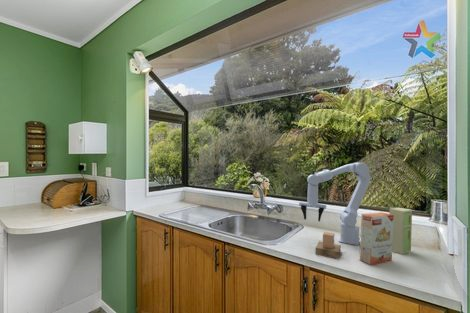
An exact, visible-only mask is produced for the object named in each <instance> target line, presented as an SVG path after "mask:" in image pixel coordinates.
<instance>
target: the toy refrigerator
mask: <svg viewBox="0 0 470 313" xmlns="http://www.w3.org/2000/svg"><path fill="white" fill-rule="evenodd" d="M388 212H389V213H388V214H392V215H394V218H393V242H392V252H394V253H397V254H400V255H406V254H409V253H411V252H412V231H413V230H412V228H413V227H412V222H413V221H412V220H413V209H411V208H410V209H409V208H404V207H391V208H389V211H388Z"/></svg>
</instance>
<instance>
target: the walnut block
mask: <svg viewBox="0 0 470 313" xmlns="http://www.w3.org/2000/svg"><path fill="white" fill-rule="evenodd" d="M341 248H342V247H341V244H336V243H334V247H333V249H332V248H326V247H323V241H320V240H319V241H318V243H317V244H316V246H315V255H319V256H324V257H328V258H333V259H339V258H340V255H341Z"/></svg>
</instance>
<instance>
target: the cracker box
mask: <svg viewBox="0 0 470 313" xmlns="http://www.w3.org/2000/svg"><path fill="white" fill-rule="evenodd" d="M393 218H394V215H392V214H389V213H387V212H382V211H381V212H372V213H371V212H370V213H362V214H361V220H360V222H361V224H360V225H361V226H360V250H359V251H360V252H359V253H360V255H359V260H360V262H361V261H362V262H364V263H365V264H368V265H370V266H372V265H376V264H382V263H387V262H391V261H393V251H392V242H393Z"/></svg>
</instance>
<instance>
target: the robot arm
mask: <svg viewBox="0 0 470 313" xmlns="http://www.w3.org/2000/svg"><path fill="white" fill-rule="evenodd" d="M370 171H371V169H370V167H369V166H368V165H367V164H366V163H365V162H357V161H356V162H353V163H348V164H345V165H342V166H340V167H337V168H334V169H332V170H329V169H322V171H319V172H314V174H309V175H308V177H307V178H306V181H307V194H306V195H307V202H305V201H302V202H301V201H300V202H298V206H299V207H300V210H301V212H302V215H303V220H307V209H308V208H316V209H318V210H317V211H318V217H317V219H318V220H317V221H318V222H321V219H322V214H323V213H324V211H325V209H327V204H323V203H319V184H321V183H324V182H326V181H330V180H332V178H333V177H335V176H337V175H342V174H344V173H347V172H348V173H353V174H354V175H355V176H356V178H357V180H358V182H357V184H356V186H355V188H354V191H353V193H352V196H351V197H350V200H349V202H348V205H347V206H346V207H345V208H344V210H343V211H341V213H340V215H339V218H340V220H341V221H340V222H341V223H340V237H339V239H338V240H339V241H338V242H339V243H344V244H349V245H356V246H359V245H360V244H359V243H360V242H361V237H360V226H356V224H357V217H358V210H359V207H360V206H361V204H362V201H363V198H364V197H365V195H366V193H367V190H368V188H369V186H370V183H371V175H370Z"/></svg>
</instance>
